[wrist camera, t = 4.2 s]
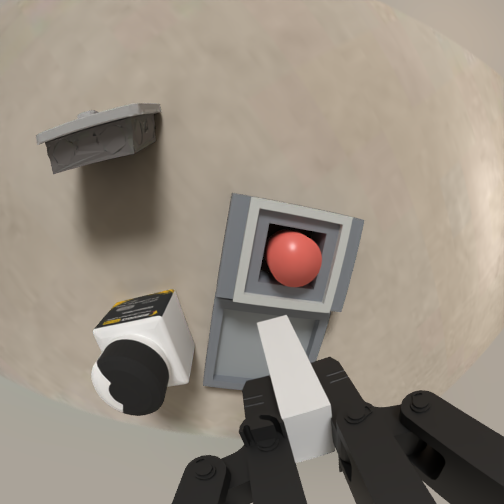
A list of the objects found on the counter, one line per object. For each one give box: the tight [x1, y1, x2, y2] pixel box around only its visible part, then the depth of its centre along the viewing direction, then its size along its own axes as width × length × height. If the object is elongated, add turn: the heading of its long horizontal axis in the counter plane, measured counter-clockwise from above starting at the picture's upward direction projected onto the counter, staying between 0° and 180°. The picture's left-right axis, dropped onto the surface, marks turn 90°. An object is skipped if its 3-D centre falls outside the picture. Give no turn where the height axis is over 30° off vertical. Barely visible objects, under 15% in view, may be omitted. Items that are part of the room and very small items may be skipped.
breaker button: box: [264, 229, 322, 287], centre depth 25 cm, size 4×4×4 cm
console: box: [203, 193, 364, 390], centre depth 28 cm, size 12×21×5 cm, turn 170°
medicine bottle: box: [91, 289, 195, 416], centre depth 24 cm, size 7×7×12 cm
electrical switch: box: [36, 103, 161, 174], centre depth 21 cm, size 9×5×9 cm, turn 96°
